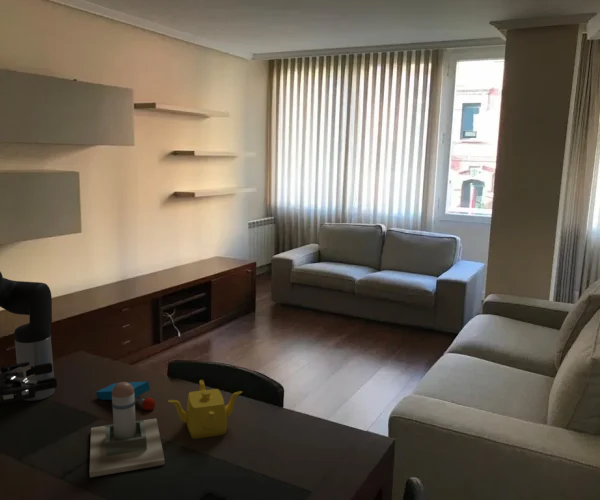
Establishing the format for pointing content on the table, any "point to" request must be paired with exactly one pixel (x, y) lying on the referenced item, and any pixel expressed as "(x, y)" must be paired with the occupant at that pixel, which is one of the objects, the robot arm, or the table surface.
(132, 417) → the brown-capped white canister
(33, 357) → the robot arm
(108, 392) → the lever
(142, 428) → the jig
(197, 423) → the teapot
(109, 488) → the table surface
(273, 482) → the table surface
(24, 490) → the table surface
